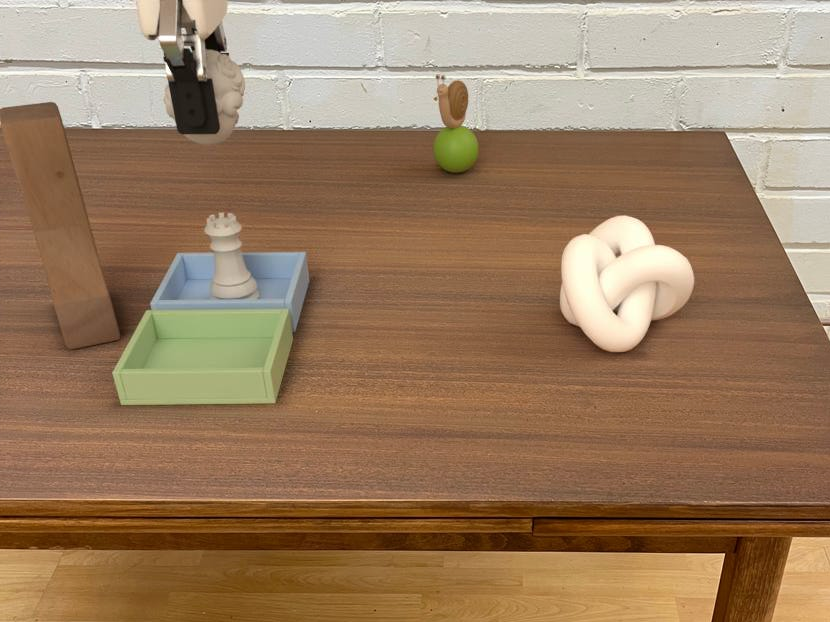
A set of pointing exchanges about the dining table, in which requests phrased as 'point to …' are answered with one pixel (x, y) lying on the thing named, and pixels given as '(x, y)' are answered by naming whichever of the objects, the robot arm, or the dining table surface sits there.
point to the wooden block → (59, 223)
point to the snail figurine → (454, 129)
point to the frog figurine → (219, 96)
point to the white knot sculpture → (621, 282)
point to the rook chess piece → (228, 261)
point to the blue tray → (278, 289)
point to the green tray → (205, 357)
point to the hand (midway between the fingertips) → (208, 116)
